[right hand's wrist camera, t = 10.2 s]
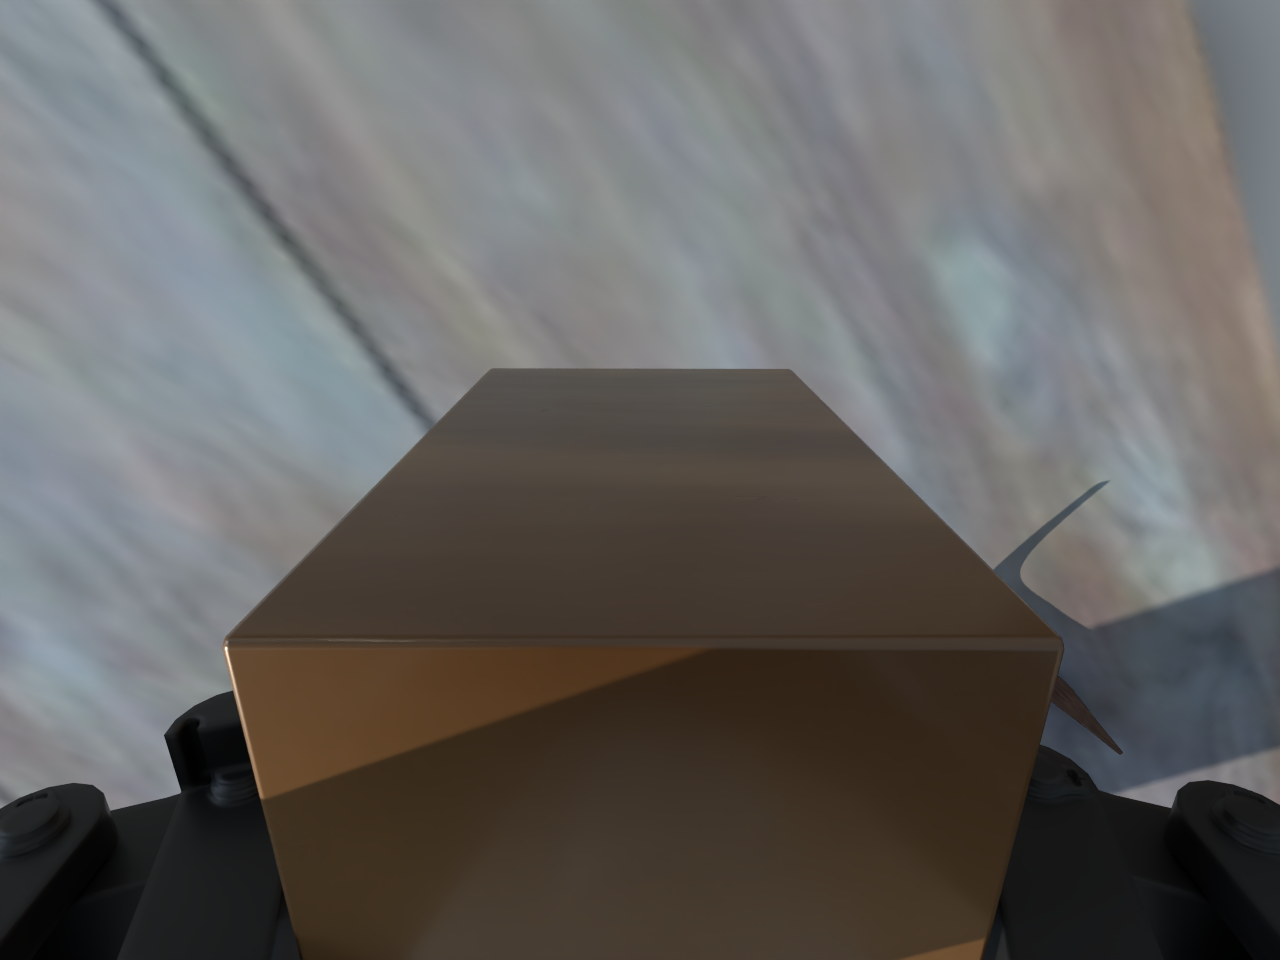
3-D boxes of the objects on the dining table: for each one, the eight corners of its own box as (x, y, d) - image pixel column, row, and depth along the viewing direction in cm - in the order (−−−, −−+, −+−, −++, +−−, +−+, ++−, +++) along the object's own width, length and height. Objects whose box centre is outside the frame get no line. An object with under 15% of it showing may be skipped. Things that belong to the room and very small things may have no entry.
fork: (1093, 761, 36) (1117, 790, 34) (900, 575, 32) (915, 597, 30) (1136, 731, 35) (1164, 760, 34) (944, 538, 32) (963, 558, 30)
